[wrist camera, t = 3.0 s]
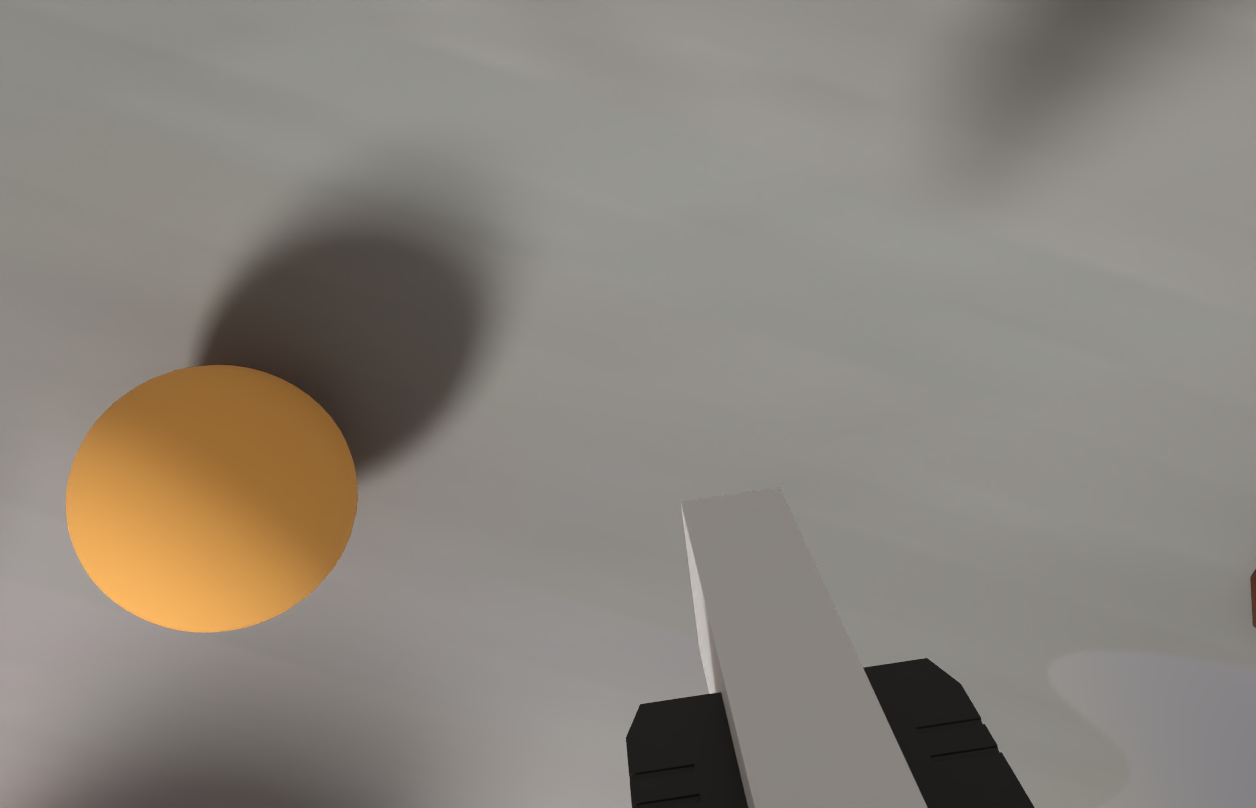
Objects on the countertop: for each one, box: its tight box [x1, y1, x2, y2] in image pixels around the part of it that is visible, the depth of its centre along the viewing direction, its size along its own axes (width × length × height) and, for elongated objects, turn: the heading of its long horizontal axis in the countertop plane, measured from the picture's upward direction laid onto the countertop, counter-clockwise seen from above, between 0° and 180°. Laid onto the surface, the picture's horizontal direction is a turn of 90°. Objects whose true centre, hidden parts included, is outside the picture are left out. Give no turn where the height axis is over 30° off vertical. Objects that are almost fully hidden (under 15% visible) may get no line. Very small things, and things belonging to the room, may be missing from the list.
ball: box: [66, 365, 358, 632], centre depth 19 cm, size 6×6×6 cm
